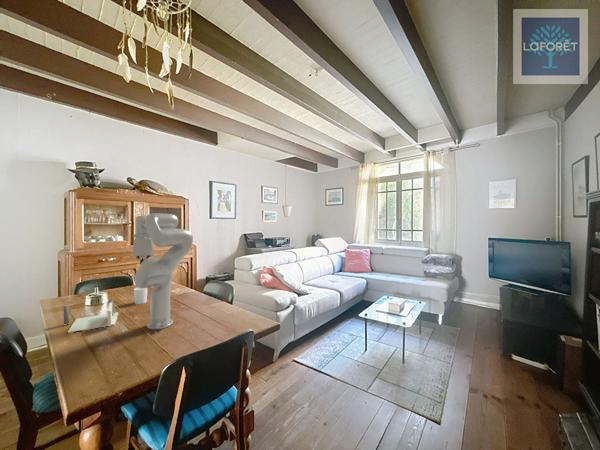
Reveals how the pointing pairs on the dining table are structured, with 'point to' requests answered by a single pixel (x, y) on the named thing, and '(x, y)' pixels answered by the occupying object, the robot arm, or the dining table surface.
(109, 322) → the white flat panel
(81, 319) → the frame
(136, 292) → the white cup
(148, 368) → the dining table surface
